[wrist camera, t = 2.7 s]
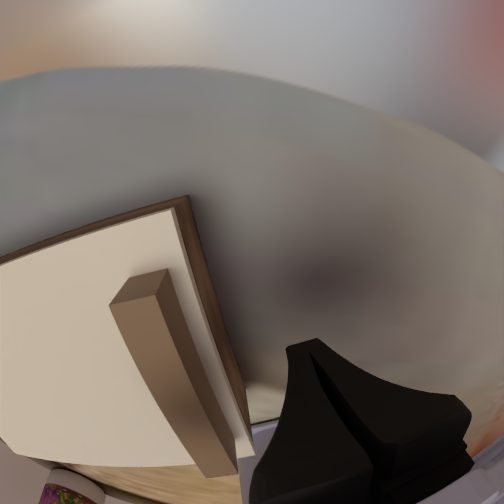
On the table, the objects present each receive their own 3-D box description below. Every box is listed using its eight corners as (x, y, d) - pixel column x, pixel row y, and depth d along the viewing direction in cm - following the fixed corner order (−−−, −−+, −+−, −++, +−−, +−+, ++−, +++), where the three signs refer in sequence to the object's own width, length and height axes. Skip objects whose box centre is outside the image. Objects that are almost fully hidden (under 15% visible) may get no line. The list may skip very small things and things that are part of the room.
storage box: (245, 389, 20) (253, 441, 15) (38, 409, 19) (19, 444, 14) (188, 194, 16) (175, 206, 11) (-34, 272, 15) (-71, 295, 10)
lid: (253, 445, 15) (261, 487, 12) (18, 447, 14) (5, 472, 11) (174, 207, 11) (157, 222, 8) (-74, 296, 10) (-100, 315, 7)
